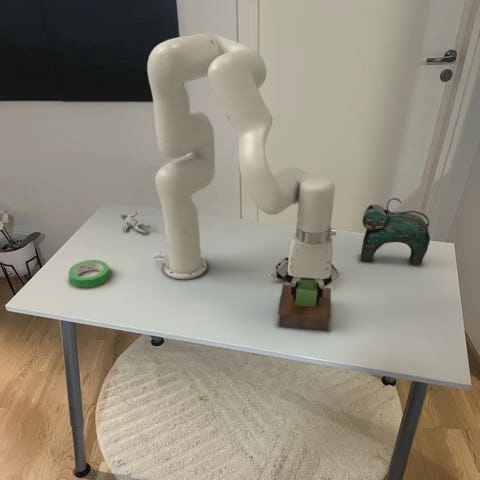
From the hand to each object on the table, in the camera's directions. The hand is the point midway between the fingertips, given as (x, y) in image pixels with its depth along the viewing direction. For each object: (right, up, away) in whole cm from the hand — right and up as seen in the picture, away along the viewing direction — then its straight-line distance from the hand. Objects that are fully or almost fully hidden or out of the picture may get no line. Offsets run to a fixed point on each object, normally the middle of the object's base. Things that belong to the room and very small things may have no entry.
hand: (306, 297), depth 116 cm
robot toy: (+1, +6, +17) cm, 18 cm away
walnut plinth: (0, -4, +3) cm, 5 cm away
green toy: (0, -1, +1) cm, 1 cm away
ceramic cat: (+29, +12, +24) cm, 40 cm away
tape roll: (-60, +7, +18) cm, 63 cm away
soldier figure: (-52, +25, +41) cm, 71 cm away
